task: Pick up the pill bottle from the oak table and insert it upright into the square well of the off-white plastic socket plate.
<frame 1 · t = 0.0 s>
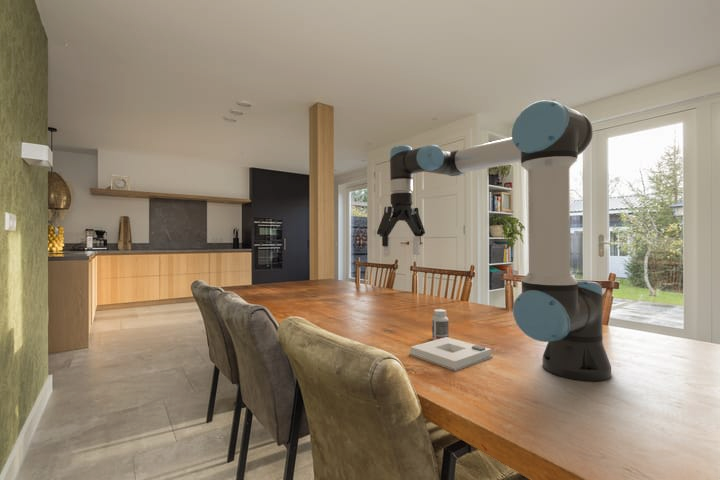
hand: (402, 255, 124), 28 cm above the table, fingers open, 13 cm apart
pill bottle: (440, 340, 122), on the table
socket plate: (450, 356, 105), on the table
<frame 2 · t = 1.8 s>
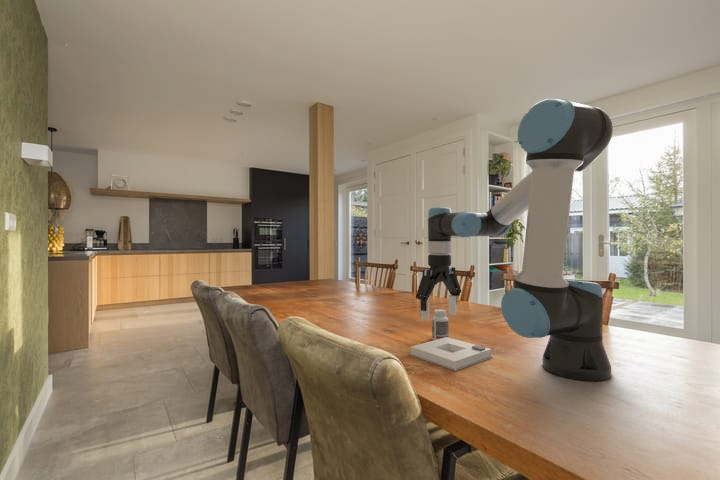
hand: (439, 317, 123), 7 cm above the table, fingers open, 13 cm apart
nothing on the table moved.
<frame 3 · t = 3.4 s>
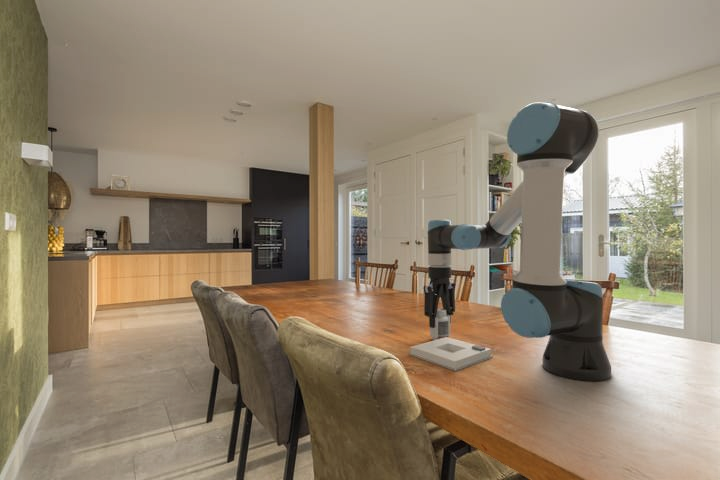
hand: (440, 335, 122), 1 cm above the table, fingers closed on pill bottle, 5 cm apart
pill bottle: (440, 339, 122), on the table, touching gripper
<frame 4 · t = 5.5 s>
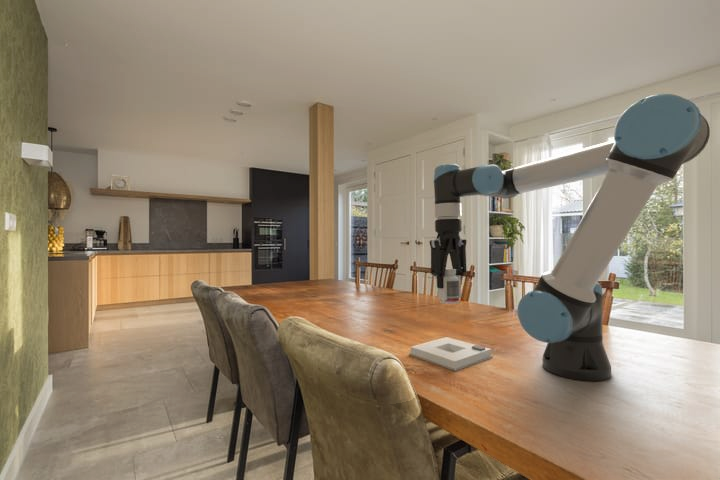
hand: (449, 298, 107), 16 cm above the table, fingers closed on pill bottle, 5 cm apart
pill bottle: (449, 303, 107), point 15 cm above the table, touching gripper
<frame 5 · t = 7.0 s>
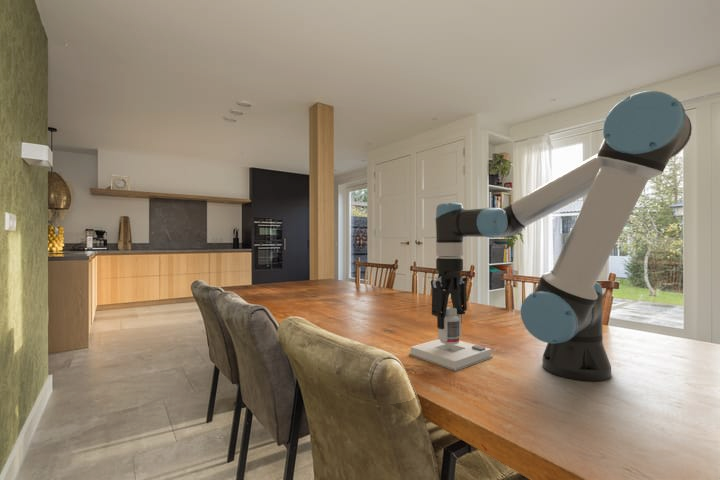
hand: (449, 337, 105), 5 cm above the table, fingers closed on pill bottle, 5 cm apart
pill bottle: (449, 343, 105), point 4 cm above the table, touching gripper
when the fingers open (3 cm above the table, at t = 8.0 s): pill bottle drops 1 cm, resting on socket plate.
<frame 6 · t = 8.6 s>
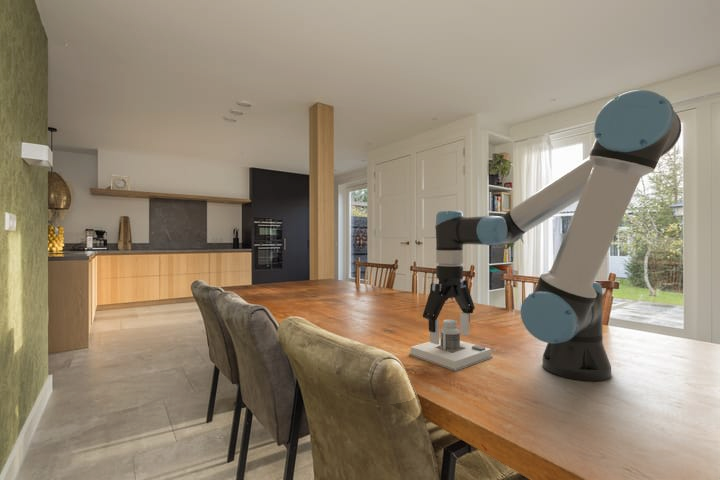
hand: (450, 338, 105), 5 cm above the table, fingers open, 13 cm apart
pill bottle: (450, 355, 105), resting on socket plate
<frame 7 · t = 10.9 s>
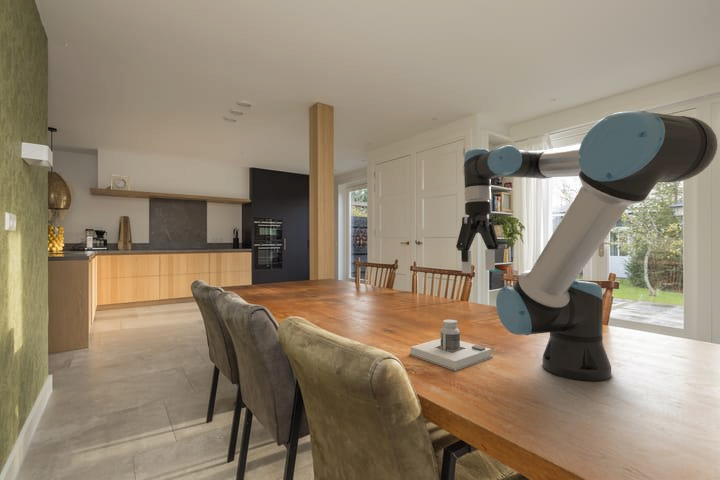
hand: (478, 271, 111), 24 cm above the table, fingers open, 13 cm apart
nothing on the table moved.
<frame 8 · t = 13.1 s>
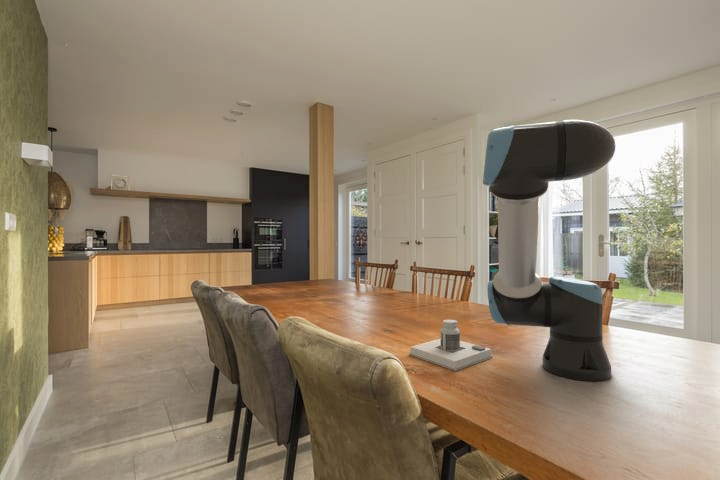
hand: (515, 258, 121), 27 cm above the table, fingers open, 13 cm apart
nothing on the table moved.
at the end: pill bottle 0.0 cm off-centre on the socket plate, point 0.2 cm above the socket plate's base; pill bottle tilted 0°; the gripper is holding nothing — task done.
